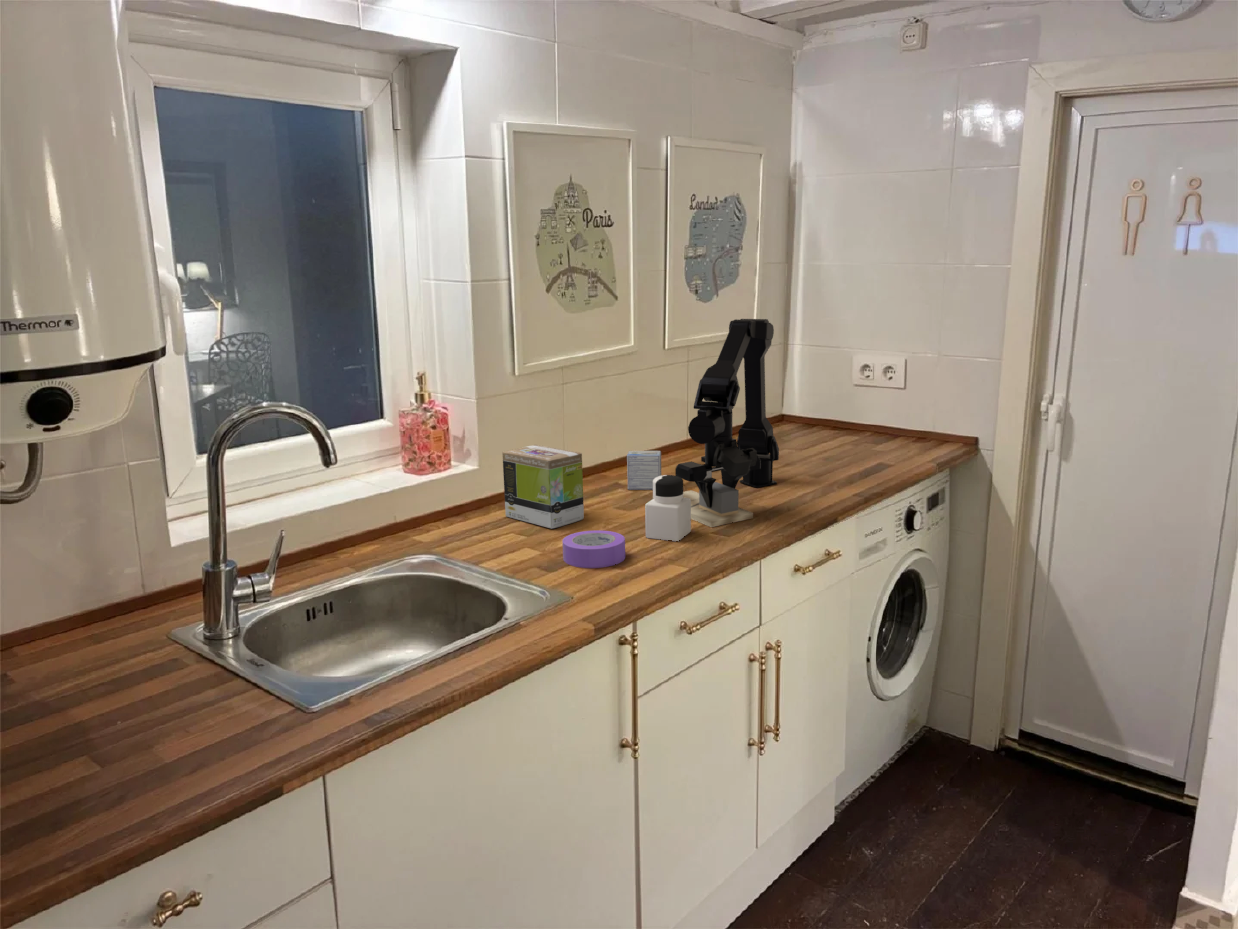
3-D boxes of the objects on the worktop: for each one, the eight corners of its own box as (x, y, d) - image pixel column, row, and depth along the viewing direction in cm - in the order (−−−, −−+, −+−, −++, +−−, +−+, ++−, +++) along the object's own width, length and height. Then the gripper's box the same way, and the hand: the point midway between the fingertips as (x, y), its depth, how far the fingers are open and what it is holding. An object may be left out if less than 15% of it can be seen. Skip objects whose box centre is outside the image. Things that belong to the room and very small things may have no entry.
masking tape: (554, 554, 180) (553, 534, 179) (610, 545, 184) (610, 526, 183) (576, 573, 169) (575, 552, 168) (635, 563, 174) (635, 543, 173)
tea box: (585, 519, 200) (583, 451, 197) (551, 530, 193) (548, 460, 190) (538, 507, 210) (535, 442, 207) (503, 517, 203) (500, 450, 200)
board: (691, 495, 217) (691, 490, 217) (753, 518, 199) (753, 512, 198) (651, 503, 211) (651, 498, 211) (711, 527, 193) (711, 521, 193)
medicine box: (661, 485, 226) (661, 450, 224) (660, 490, 222) (660, 454, 220) (629, 485, 227) (628, 450, 225) (627, 490, 223) (626, 454, 220)
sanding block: (715, 504, 205) (715, 481, 204) (738, 512, 198) (738, 490, 197) (699, 507, 203) (699, 485, 202) (721, 516, 196) (721, 493, 195)
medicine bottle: (691, 531, 190) (691, 474, 188) (678, 542, 184) (678, 483, 181) (658, 528, 193) (658, 471, 191) (645, 538, 187) (644, 479, 184)
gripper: (706, 447, 185) (706, 522, 189) (778, 434, 195) (777, 506, 198) (673, 437, 194) (674, 509, 198) (744, 425, 204) (743, 495, 208)
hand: (718, 505), depth 200 cm, fingers closed on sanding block, 4 cm apart
